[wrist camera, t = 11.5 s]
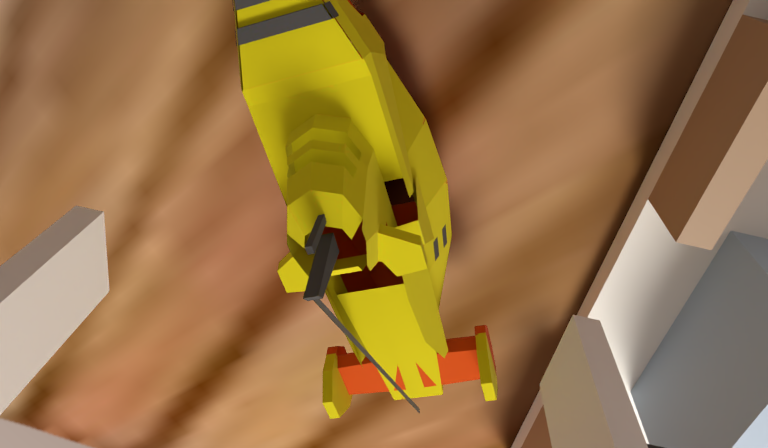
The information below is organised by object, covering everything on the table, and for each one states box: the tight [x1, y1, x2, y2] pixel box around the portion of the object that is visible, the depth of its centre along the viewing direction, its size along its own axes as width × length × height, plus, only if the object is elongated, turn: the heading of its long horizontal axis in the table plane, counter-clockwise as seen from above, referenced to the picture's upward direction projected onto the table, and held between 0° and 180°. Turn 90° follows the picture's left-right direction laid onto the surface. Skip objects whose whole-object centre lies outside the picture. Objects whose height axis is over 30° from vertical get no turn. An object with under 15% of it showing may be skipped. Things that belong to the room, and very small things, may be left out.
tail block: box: [630, 231, 768, 448], centre depth 21 cm, size 9×4×6 cm, turn 169°
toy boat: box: [233, 0, 498, 419], centre depth 18 cm, size 6×18×10 cm, turn 16°
